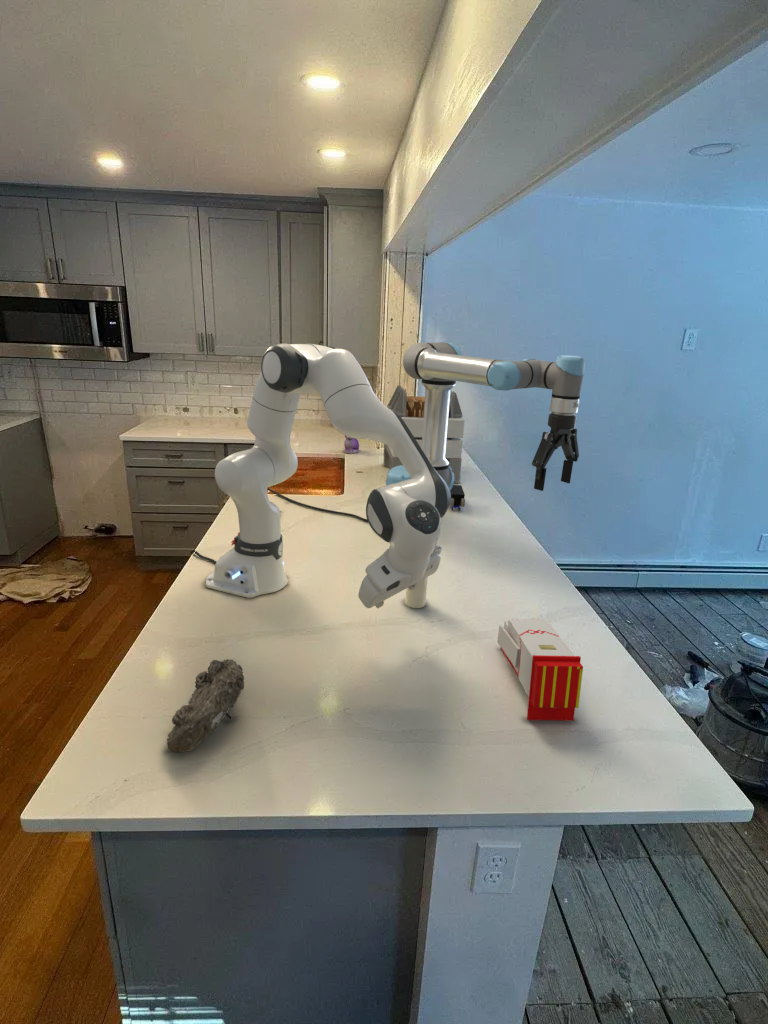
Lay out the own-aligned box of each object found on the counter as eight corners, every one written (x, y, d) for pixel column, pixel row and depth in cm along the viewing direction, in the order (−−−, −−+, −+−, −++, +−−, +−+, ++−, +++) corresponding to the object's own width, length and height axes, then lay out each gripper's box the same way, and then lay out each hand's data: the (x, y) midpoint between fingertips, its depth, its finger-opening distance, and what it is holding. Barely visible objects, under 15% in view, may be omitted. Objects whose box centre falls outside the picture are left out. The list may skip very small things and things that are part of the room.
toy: (543, 604, 136) (592, 662, 106) (538, 656, 138) (584, 727, 109) (493, 603, 135) (528, 661, 106) (489, 655, 138) (522, 726, 109)
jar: (415, 596, 157) (419, 541, 152) (429, 604, 153) (434, 548, 148) (400, 601, 154) (404, 546, 148) (414, 610, 150) (418, 553, 144)
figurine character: (465, 515, 224) (460, 499, 237) (467, 498, 221) (462, 483, 234) (448, 515, 224) (444, 499, 237) (450, 498, 220) (445, 482, 234)
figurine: (347, 454, 303) (347, 426, 298) (339, 450, 312) (340, 422, 306) (363, 453, 307) (363, 425, 302) (355, 448, 316) (355, 422, 311)
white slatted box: (382, 463, 289) (386, 382, 275) (445, 464, 293) (451, 384, 279) (390, 482, 257) (394, 392, 243) (460, 483, 261) (468, 394, 247)
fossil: (192, 660, 117) (244, 628, 112) (224, 691, 120) (276, 661, 115) (142, 746, 98) (202, 712, 93) (182, 779, 101) (242, 748, 96)
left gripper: (434, 532, 126) (420, 567, 137) (359, 570, 116) (350, 604, 127) (452, 553, 123) (437, 586, 134) (376, 593, 114) (366, 626, 124)
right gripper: (548, 419, 148) (537, 496, 155) (598, 411, 163) (586, 482, 171) (525, 414, 153) (515, 489, 160) (575, 407, 169) (564, 476, 176)
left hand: (394, 595), depth 130 cm, fingers open, 8 cm apart
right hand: (552, 485), depth 166 cm, fingers open, 13 cm apart
